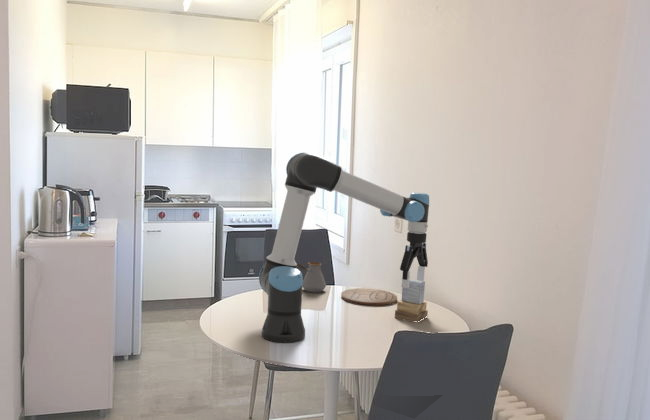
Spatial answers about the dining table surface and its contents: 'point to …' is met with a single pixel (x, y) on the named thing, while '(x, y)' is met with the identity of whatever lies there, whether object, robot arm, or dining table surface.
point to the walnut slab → (410, 315)
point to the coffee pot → (313, 278)
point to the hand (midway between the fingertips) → (412, 284)
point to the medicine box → (414, 292)
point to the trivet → (369, 297)
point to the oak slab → (411, 307)
